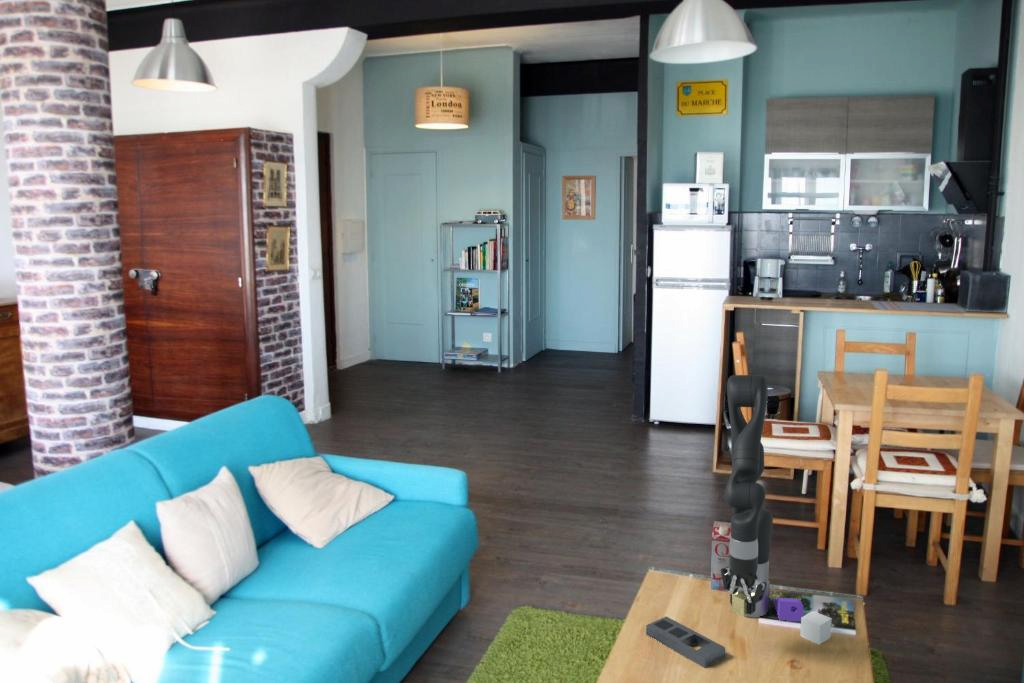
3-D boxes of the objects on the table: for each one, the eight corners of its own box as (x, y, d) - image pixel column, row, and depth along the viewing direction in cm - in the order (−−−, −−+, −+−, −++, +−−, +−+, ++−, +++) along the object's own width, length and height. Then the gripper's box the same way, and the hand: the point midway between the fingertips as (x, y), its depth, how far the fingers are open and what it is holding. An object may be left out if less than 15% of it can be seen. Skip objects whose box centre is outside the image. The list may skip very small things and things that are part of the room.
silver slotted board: (666, 625, 252) (666, 615, 251) (725, 657, 234) (725, 647, 234) (646, 634, 247) (646, 625, 246) (704, 668, 229) (705, 657, 229)
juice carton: (731, 592, 271) (733, 527, 267) (710, 589, 274) (712, 524, 270) (734, 583, 277) (736, 519, 273) (713, 580, 280) (715, 517, 276)
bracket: (802, 623, 252) (803, 602, 251) (778, 622, 253) (779, 601, 252) (795, 604, 264) (796, 583, 262) (772, 603, 265) (773, 582, 263)
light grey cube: (800, 636, 244) (801, 617, 243) (811, 629, 248) (812, 610, 247) (819, 645, 240) (820, 625, 239) (830, 637, 244) (831, 618, 242)
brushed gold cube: (739, 605, 237) (740, 589, 236) (754, 612, 233) (754, 595, 232) (730, 610, 235) (731, 594, 234) (745, 617, 231) (745, 600, 230)
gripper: (774, 556, 227) (772, 615, 231) (731, 539, 238) (730, 595, 242) (757, 565, 223) (755, 624, 226) (713, 547, 234) (713, 604, 237)
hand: (742, 609), depth 234 cm, fingers closed on brushed gold cube, 4 cm apart
